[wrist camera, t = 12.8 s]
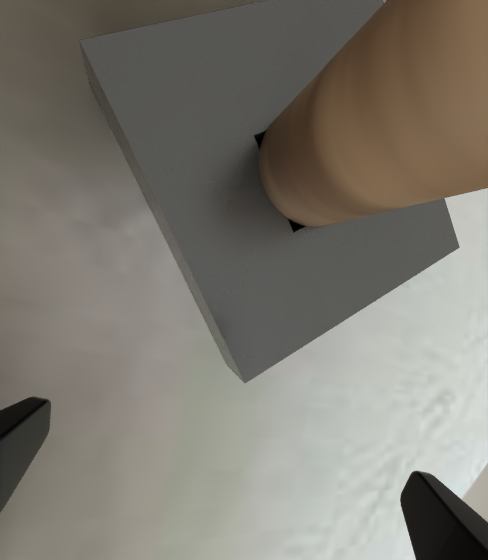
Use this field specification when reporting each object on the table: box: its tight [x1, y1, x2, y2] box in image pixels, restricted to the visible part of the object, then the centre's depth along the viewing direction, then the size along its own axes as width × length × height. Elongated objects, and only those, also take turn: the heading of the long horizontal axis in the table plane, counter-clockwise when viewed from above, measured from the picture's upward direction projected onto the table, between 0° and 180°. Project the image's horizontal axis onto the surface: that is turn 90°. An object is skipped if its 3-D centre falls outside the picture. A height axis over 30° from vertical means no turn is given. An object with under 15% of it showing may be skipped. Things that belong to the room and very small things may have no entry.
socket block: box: [79, 0, 459, 383], centre depth 17 cm, size 16×16×3 cm
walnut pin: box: [259, 0, 488, 227], centre depth 12 cm, size 6×6×13 cm
